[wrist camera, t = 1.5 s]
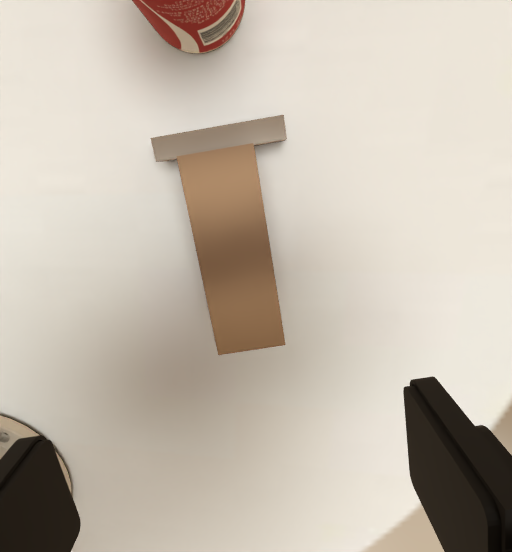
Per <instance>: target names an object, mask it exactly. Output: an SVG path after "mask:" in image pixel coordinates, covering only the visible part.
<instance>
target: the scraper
mask: <svg viewBox="0 0 512 552" xmlns="http://www.w3.org/2000/svg"><path fill="white" fill-rule="evenodd" d="M286 139H287V137H286V130H285V123H284V115H280V116H274V117H268V118H263V119H257V120H251V121H246V122H240V123H234V124H229V125H223V126H217V127H212V128H206V129H200V130H194V131H189V132H183V133H177V134H172V135H166V136H160V137H155V138H151V141H152V146H153V150H154V154H155V159H156V162H159V161H169V160H175V159H177V161H178V166H179V171H180V175H181V180H182V185H183V190H184V194H185V199H186V204H187V209H188V213H189V218H190V223H191V227H192V232H193V237H194V242H195V246H196V251H197V256H198V261H199V265H200V270H201V275H202V280H203V284H204V289H205V294H206V298H207V303H208V308H209V313H210V317H211V322H212V327H213V332H214V336H215V341H216V346H217V350H218V355H222V354H228V353H235V352H242V351H248V350H255V349H262V348H268V347H275V346H282V345H285V339H284V333H283V327H282V320H281V314H280V307H279V301H278V295H277V288H276V282H275V276H274V269H273V263H272V257H271V251H270V244H269V238H268V232H267V225H266V219H265V213H264V206H263V200H262V194H261V187H260V181H259V175H258V168H257V162H256V156H255V149H254V146H256V145H262V144H267V143H273V142H279V141H284V140H286Z"/></svg>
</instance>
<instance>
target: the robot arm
mask: <svg viewBox="0 0 512 552" xmlns="http://www.w3.org/2000/svg"><path fill="white" fill-rule="evenodd" d="M404 404H405V417H406V430H407V443H408V456H409V470H410V476H411V480H412V484H413V486H414V489H415V491H416V493H417V495H418V497H419V499H420V501H421V503H422V506H423V508H424V510H425V512H426V514H427V516H428V518H429V520H430V522H431V524H432V526H433V528H434V530H435V533H436V535H437V537H438V539H439V541H440V543H441V545H442V547H443V549H444V551H445V552H512V455H511V454H510V453H509V452H508V451H507V450H506V448H505V447H504V446H503V445H502V444H501V443H500V442H499V441H498V439H497V438H496V437H495V436H494V435H493V433H492V432H491V431H490V430H489V429H488V428H487V427H485V426H483V425H480V426H474V425H473V423H472V422H471V421H470V420H469V418H468V417H467V416H466V415H465V414H464V412H463V411H462V410H461V409H460V407H459V406H458V405H457V404H456V402H455V401H454V400H453V399H452V398H451V396H450V395H449V394H448V393H447V391H446V390H445V389H444V388H443V386H442V385H441V384H440V383H439V382H438V380H437V379H436V378H435V377H427V378H421V379H414V380H411V381H410V386H407V387H404ZM79 531H80V517H79V514H78V511H77V509H76V506H75V503H74V501H73V498H72V495H71V483H70V478H69V474H68V471H67V469H66V467H65V465H64V463H63V461H62V459H61V458H60V457H59V455H58V454H57V453H56V451H55V449H54V446H53V444H52V442H51V441H50V440H46V438H45V437H44V436H41V435H39V434H37V433H36V432H34V431H33V430H31V429H30V428H28V427H27V426H25V425H23V424H21V423H18V422H16V421H14V420H12V419H10V418H7V417H3V416H0V552H71V550H72V547H73V545H74V543H75V541H76V539H77V537H78V534H79Z"/></svg>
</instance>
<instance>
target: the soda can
mask: <svg viewBox="0 0 512 552" xmlns="http://www.w3.org/2000/svg"><path fill="white" fill-rule="evenodd" d="M132 1H133V2H134V3H135V5H136V6H137V7H138V8H139V10H140V11H141V12H142V13H143V15H144V16H145V17H146V18H147V20H148V21H149V22H150V23H151V25H152V26H153V27H154V28H155V30H156V31H157V32H158V33H159V35H160V36H161V37H162V38H163V39H164V40H165V41H166V42H168V43H169V44H170V45H172V46H174V47H175V48H177V49H179V50H182V51H185V52H189V53H205V52H209V51H212V50H215V49H217V48H219V47H220V46H222V45H223V44H225V43H226V42H227V41H228V40H229V39H230V38H231V37H232V35H233V34H234V33H235V31H236V30H237V28H238V26H239V24H240V22H241V19H242V16H243V12H244V6H245V0H132Z"/></svg>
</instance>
